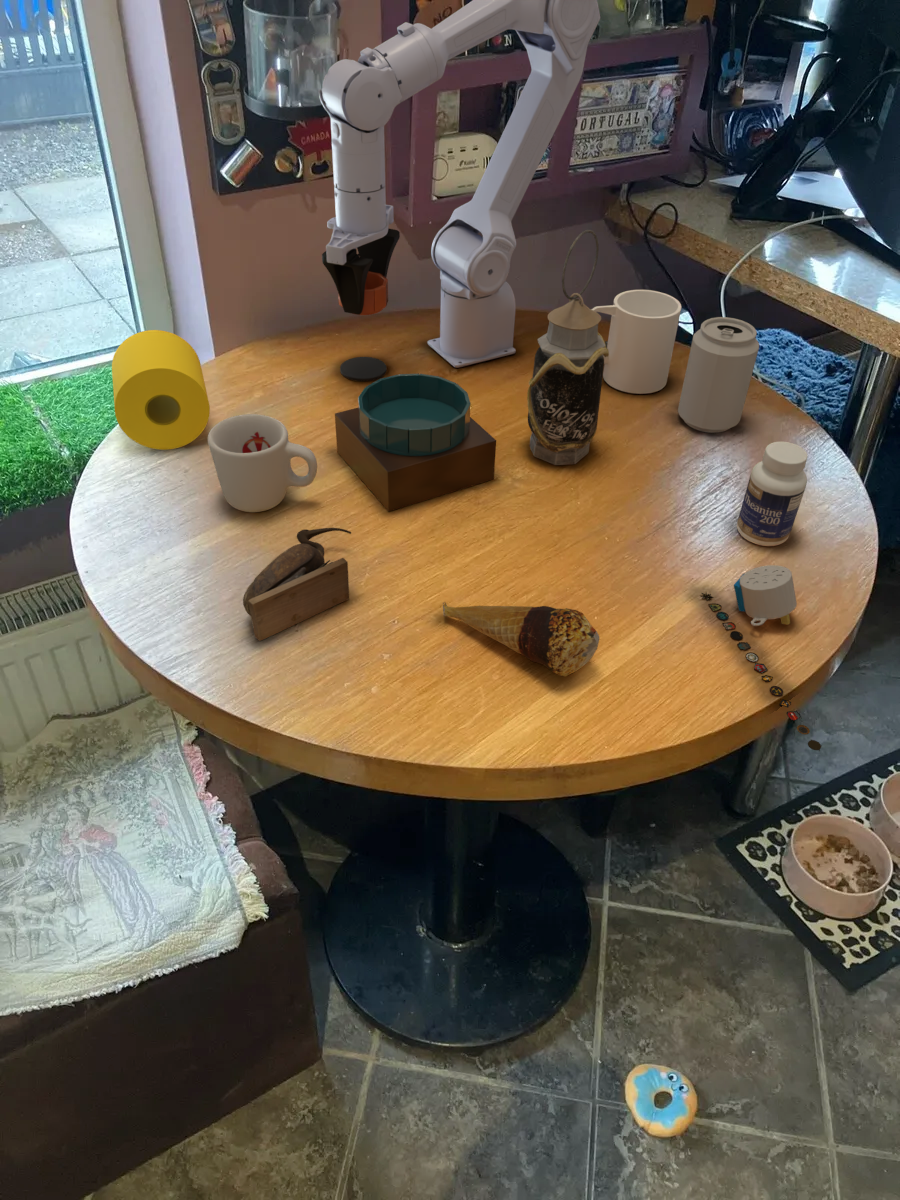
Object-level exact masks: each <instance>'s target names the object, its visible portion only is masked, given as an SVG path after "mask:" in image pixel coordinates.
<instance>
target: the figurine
mask: <svg viewBox="0 0 900 1200" xmlns="http://www.w3.org/2000/svg"><path fill="white" fill-rule="evenodd" d="M330 532H342V533H343V532H344V533H347V534H349V535H351V534H352V531H350V530H347V529H344V528H339V527H323V528H316V529H315V528H314V529H307V528H306V529H301V530H299V531H298V532H296V533H297V534H296V539H297V541H298V542H299V543H298V544H295V545H293V546H290V547H289V548H287V549H286V550H284V551H283V552H282V553H280V554H279V555H278V556H276V557H275V558H274V559H273V560H272V561H271V562H269V564H267V565H266V566H265V568H264V569H262V570H261V572H259V574H257V575H256V577H254V579H253V581H252V582H251V583H250V584H249V585H248V587H247V589H246V590H245V592H244V593H243V597H242V606H243V608H244V610H245V612H246V613H247V615H248V616H250V618H251V623H252V627H253V633H254V637H255V639H257V640H258V641H260V642H261V641H263V640H265V639H268V638H270V637H272V636H275V635H277V634H278V633H280V632H283V631H285V630H287V629H289V628H291V627H293V626H295V625H298V624H299V623H301V622H304V621H305V620H308V619H309V618H312V617H314V616H316V615H318V614H320V613H322V612H324V611H326V610H328V609H332V608H333V607H335V606H337V605H339V604H342V603H344V602H345V601H348V600H350V585H349V583H350V582H349V563H348V560H346V559H345V558H344V557H342V558H341V557H340V559H337V560H334V561H331V559H329V560H327V561H325V548H324V546H323V544H321V543H319V542H316V541H312V540H311V539H312V538H314V537H317V536H319V535H322V534H325V533H330Z"/></svg>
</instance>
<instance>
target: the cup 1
mask: <svg viewBox="0 0 900 1200" xmlns="http://www.w3.org/2000/svg"><path fill="white" fill-rule="evenodd" d="M207 444H208V448H209V451H210V455H211V458H212V462H213V466H214V469H215V472H216V475H217V479H218V482H219V486H220V489H221V492H222V495H223V497H224V499H225V501H226V502H227V503H228V505H229V506H231V507H232V508H234V509H235V510H238V511H241V512H245V513H260V512H261V513H262V512H265V511H268V510H271V509H273V508H275V507H277V506H279V504H281V502H282V501H283V500H284V499H285V497H286V494H287V491H288V488H292V487H294V488H304V487H307V486H309V485H311V484H312V483H313V482H314V480H315V478H316V476H317V471H318V463H317V461H318V460H317V457H316V455H315V453H314V451H312V449H310V448H309V447H307V446H305V445H302V444H298V443H295V442H291V441H290V440H289V431H288V428H287V427H286V426H285V424H283V422H282V421H280V420H279V419H277V418H275V417H272V416H269V415H265V414H258V413H257V414H256V413H246V414H245V413H244V414H239V415H233V416H230V417H227V418H224V419H223V420H221V421H219V422H217V423H216V424H215V425H214V426H212V427H211V429H210V430H209V432H208V435H207ZM296 457H297V458H301V459H303V460H304V461H305V462H306V464H307V466H308V467H307V468H308V470H307V471H308V472H307V474H305V475H298V474H296V473H295V472H294V470H293V469H292V464H291V460H292V459H294V458H296Z"/></svg>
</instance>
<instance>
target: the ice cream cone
mask: <svg viewBox="0 0 900 1200" xmlns="http://www.w3.org/2000/svg"><path fill="white" fill-rule="evenodd" d="M442 615H443V617H449V618H454V619H457V620H458V621H459V620H460V621H461V622H463V623H464V624H466V625H467V626H469V627H471V628H473V629H474V630H476V631H478V632H480V633H481V634H483V635H485V636H487V637H489V638H490V639H492V640H495V641H497V642H499V643H500V644H502V645H504V646H505V647H507V648H509V649H510V650H512V651H514V652H516V653H517V654H519V655H522V656H523V657H525V658H527V659H528V660H530V661H531V662H532V663H537V664H541V665H543V666H545V667H546V668H547V669H548V670H550V671H551V672H552V673H554V674H556V675H557V676H560V677H565V678H566V677H568V676H569V675H571V674H573V673H575V672H577V671H579V670H580V669H582V668H583V667H584V666H585V665H586V664H587V663H589V662H591V660H592V658H593V657H594V655H595V653H596V651H597V650H598V647H599V642H600V634H599V633H598V631H597V629H596V628H595V627H594V626H592V624H591V622H590V621H589V620H588V619H587V617H586V615H585V614H584V613H583V612H581V611H579V610H577V609H572V608H568V607H566V608H555V607H552V606H549V605H548V606H547V605H541V606H523V605H522V606H520V605H519V606H518V605H470V606H469V605H468V606H456V607H454V606H449V605H447V603H446V602H445V601H444V602H442Z"/></svg>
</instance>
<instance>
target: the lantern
mask: <svg viewBox="0 0 900 1200" xmlns="http://www.w3.org/2000/svg"><path fill="white" fill-rule="evenodd" d="M587 233H590V234H591V235H593V237H594V241H595V257H594V258H595V259H594V263H593V267H592V270H591V273H590V276H589V277H588V280H587V281H586V283H585V285H584V287H583V288H582V289H581V291H580V292H574V293H572V294H571V295H568V293H567V291H566V286H565V278H566V277H565V275H566V270H567V269H566V268H567V265H568V262H569V258H570V255H571V253H572V251H573V249H574V248H575V245H576V243H577V242H578V241H579V240H580V239H581V238H582V236H584V235H585V234H587ZM599 245H600V244H599V238H598V236H597V234H596V233H595V231H594V230H592V229H586V230H583V231H581V233H579V234H578V236H576V237H575V239H574V240H573V242H572V244H571V245H570V247H569V249H568V252H567V254H566V257H565V260H564V264H563V268H562V274H561V288H562V292H563V295H564V297H565V298H566V299H568V301H569V302H567V303H566V304H564V305H561V306H559V307H557V308H554V309H553V310H551V311H549V313H548V314H547V320H548V321H549V322H548V327H547V332H546V333H545V334H543V335H541V336H540V337H538V338H537V343H538V345H539V347H538V348H537V350H536V352H535V355H534V361H533V362H534V363H533V369H532V377H531V378H530V379H529V381H528V385H529V386H528V389H527V394H526V395H527V397H526V398H527V399H526V400H527V424H528V427H529V429H530V432H531V435H530V438H529V448H530V450H531V453H532V455H533V457H535V458H536V459H539V460H541V461H544V462H547V463H549V464H551V465H554V466H566V465H576V464H577V463H578V462H579V461H581V460H582V459H583V458H584V457H586V456H587V455H588V454H589V451H590V444H591V442H592V441H593V440H594V437H595V434H596V433H597V429H598V421H599V413H600V412H599V411H600V403H601V393H602V385H603V371H604V357H603V355H604V356H605V357H608V355H609V351H608V349H606V345H605V339H604V337H603V336H602V334H601V333H599V323H600V322H601V320H602V316H601V315H600V314H599V312H595V311H593V310H591V309H592V308H590V307H588V306H587V305H586V304H585V303H584V298H583V297H582V295H583V293H584V292H585V291H586V290H587V288H588V286H589V285H590V283H591V281H592V278H593V276H594V274H595V270H596V267H597V265H598V264H597V263H598V260H599V251H600V250H599V249H600V248H599Z"/></svg>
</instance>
